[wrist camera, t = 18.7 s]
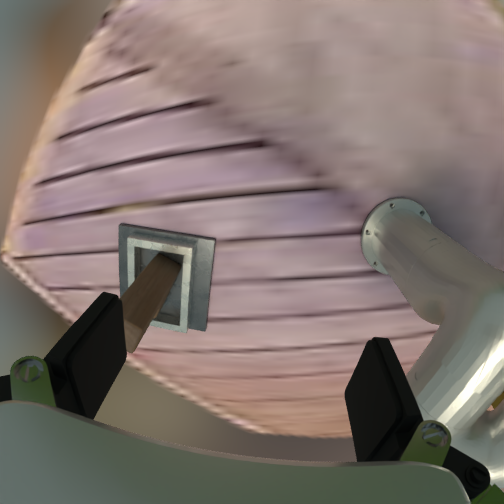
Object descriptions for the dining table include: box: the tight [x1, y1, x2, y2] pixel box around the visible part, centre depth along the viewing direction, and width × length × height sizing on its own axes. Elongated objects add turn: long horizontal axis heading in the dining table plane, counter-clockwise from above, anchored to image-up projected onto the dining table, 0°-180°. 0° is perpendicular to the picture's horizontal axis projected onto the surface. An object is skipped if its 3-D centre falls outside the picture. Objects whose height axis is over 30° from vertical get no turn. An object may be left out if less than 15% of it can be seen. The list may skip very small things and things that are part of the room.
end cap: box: [119, 223, 216, 333], centre depth 50 cm, size 16×17×4 cm
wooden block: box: [120, 253, 181, 353], centre depth 42 cm, size 9×4×18 cm, turn 151°
